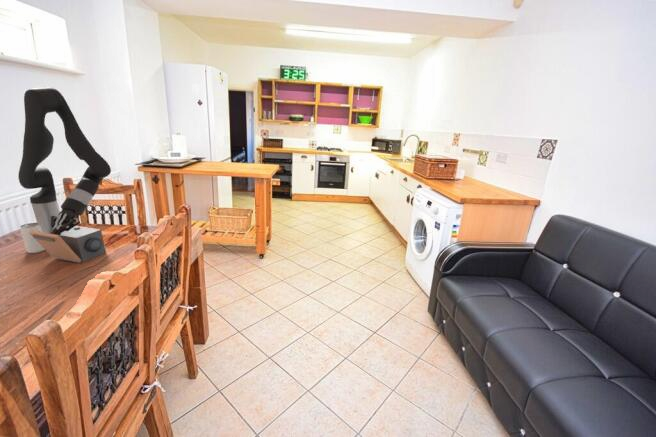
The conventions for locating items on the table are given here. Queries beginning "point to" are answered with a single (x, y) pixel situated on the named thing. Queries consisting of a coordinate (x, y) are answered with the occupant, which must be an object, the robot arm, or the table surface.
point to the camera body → (84, 242)
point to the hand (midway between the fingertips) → (52, 239)
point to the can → (29, 241)
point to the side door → (55, 246)
